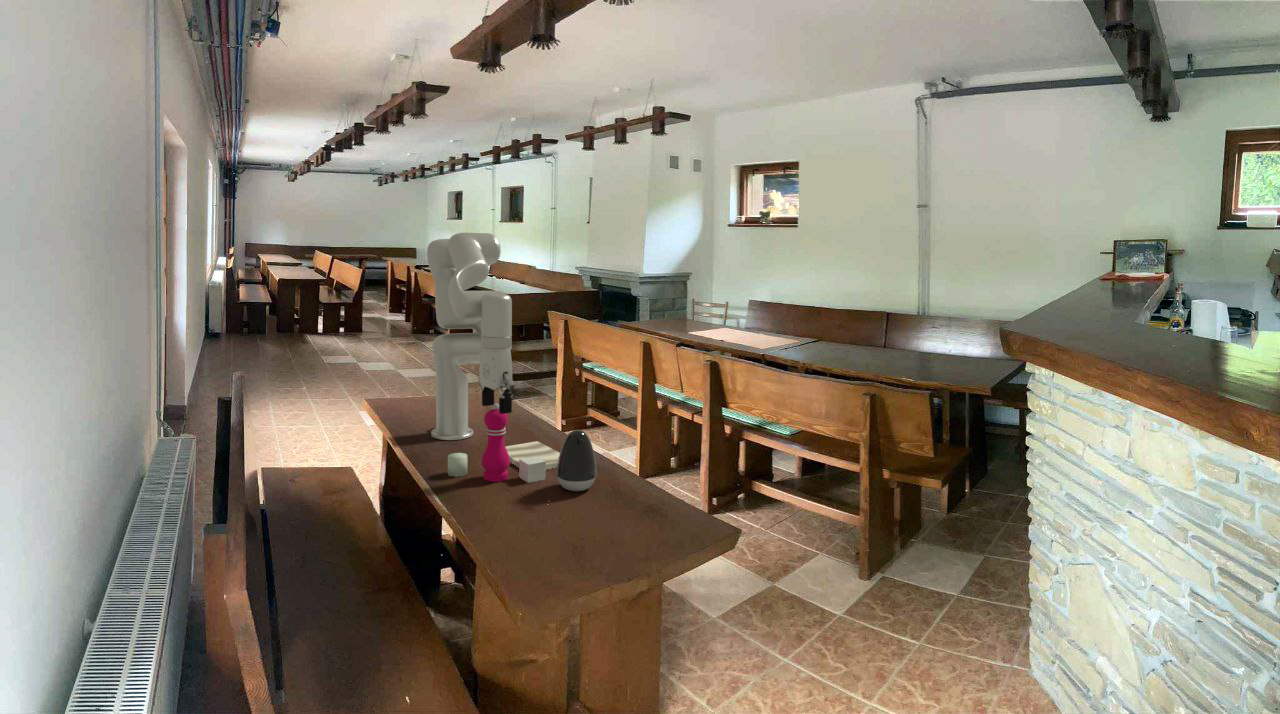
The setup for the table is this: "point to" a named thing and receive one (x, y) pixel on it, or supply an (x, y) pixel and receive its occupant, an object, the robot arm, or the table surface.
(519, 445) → the ash board
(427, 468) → the table surface
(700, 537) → the table surface
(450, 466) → the sage cylinder
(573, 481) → the dark grey egg shape
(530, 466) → the grey block
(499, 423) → the pepper mill
